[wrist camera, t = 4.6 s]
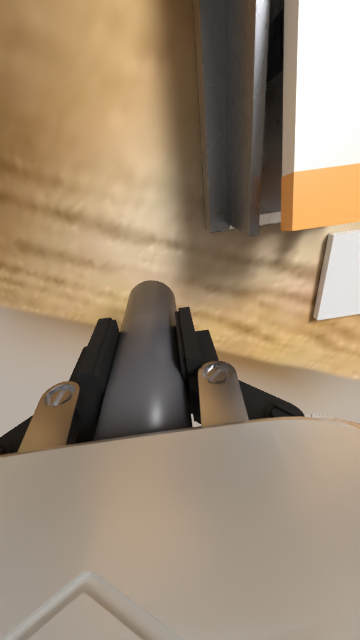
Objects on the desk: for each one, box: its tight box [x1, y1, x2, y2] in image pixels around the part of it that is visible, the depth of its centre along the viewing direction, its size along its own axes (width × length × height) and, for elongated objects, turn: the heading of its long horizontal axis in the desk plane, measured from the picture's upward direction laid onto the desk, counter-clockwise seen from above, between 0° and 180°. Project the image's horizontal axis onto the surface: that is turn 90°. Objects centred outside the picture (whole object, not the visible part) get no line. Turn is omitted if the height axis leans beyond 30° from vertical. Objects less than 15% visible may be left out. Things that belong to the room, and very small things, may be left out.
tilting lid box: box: [193, 0, 284, 237], centre depth 14 cm, size 19×12×7 cm, turn 7°
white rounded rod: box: [93, 281, 192, 441], centre depth 11 cm, size 3×3×12 cm
